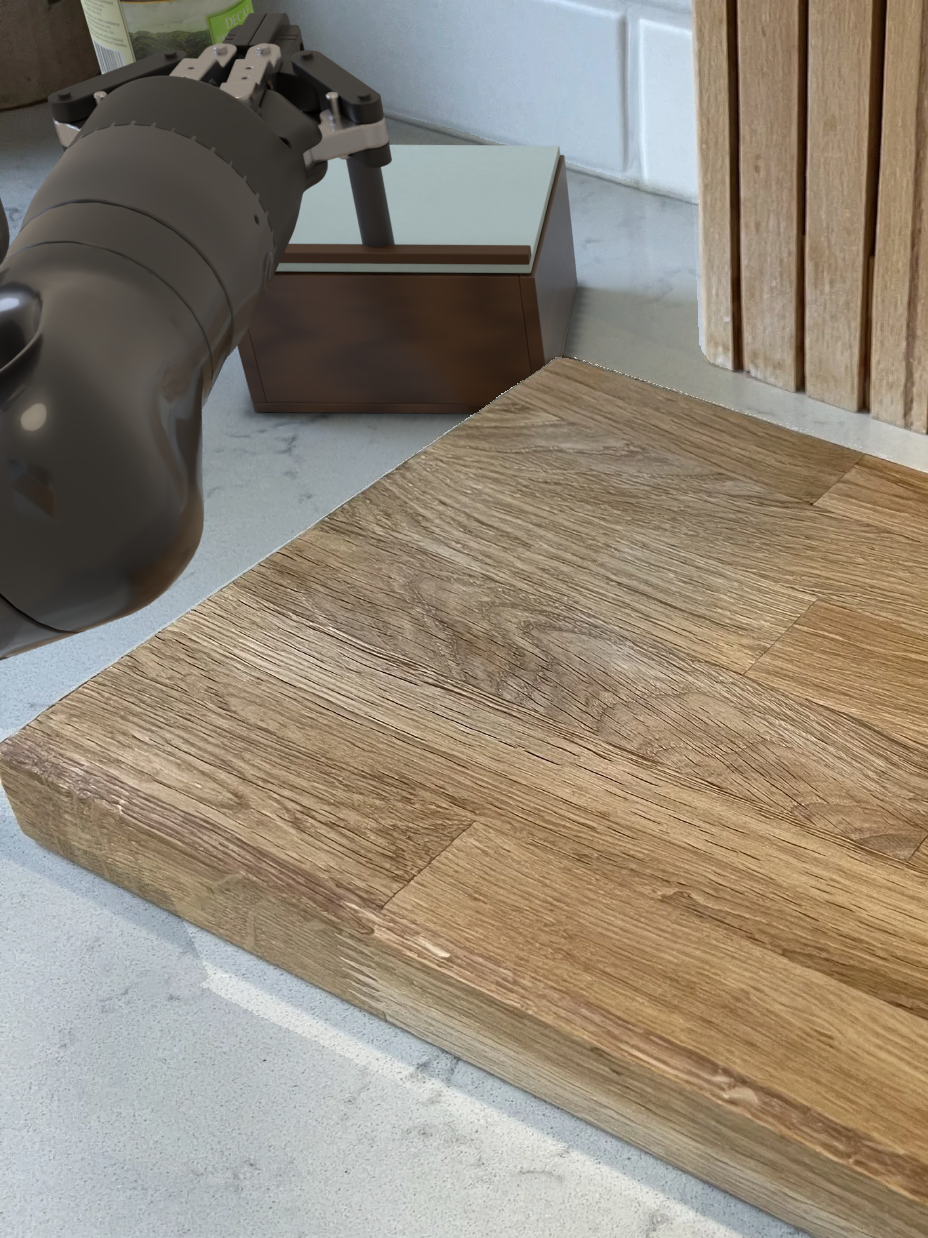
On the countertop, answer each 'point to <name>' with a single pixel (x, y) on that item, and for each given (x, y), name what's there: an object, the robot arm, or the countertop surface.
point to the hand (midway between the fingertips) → (274, 37)
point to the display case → (412, 332)
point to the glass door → (427, 212)
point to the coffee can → (158, 27)
